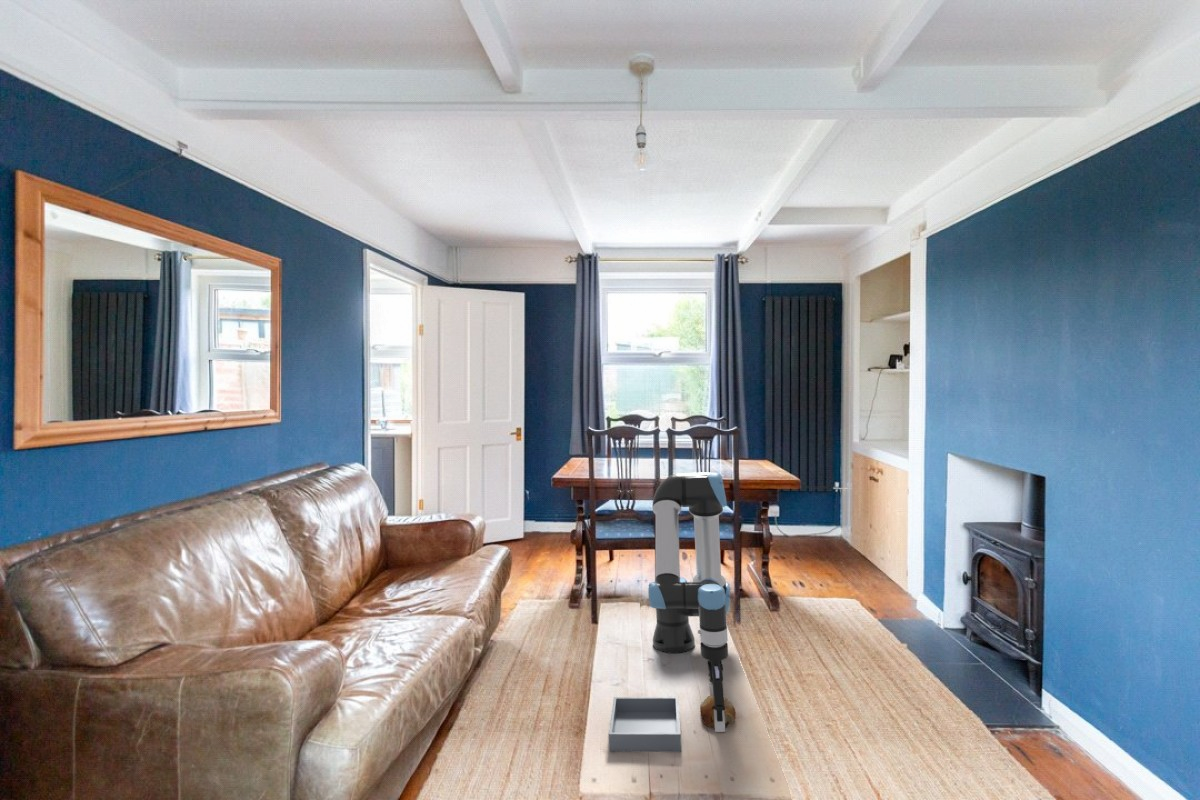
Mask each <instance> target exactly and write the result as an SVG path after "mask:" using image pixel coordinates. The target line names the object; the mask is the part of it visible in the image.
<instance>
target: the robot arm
mask: <svg viewBox="0 0 1200 800" xmlns="http://www.w3.org/2000/svg"><path fill="white" fill-rule="evenodd" d="M725 491H726V490H725V486H724V481H723V476H722V474H721V473H720V472H710V471H706V472H688V473H687V472H686V473H685V472H683V473H681V472H680V473H679V472H678V473H674V474H671V475H668V477H666V478H664V480H663V481H662V482H661V483H660V484H659V486H658V487H657V489H656V490H655V493H654V496H653V499H652V512H653V514H654V515H655V565H654V566H655V570H654V571H655V581H653V582H649V584H648V593H647V594H648V604H649V606H650V608H653V609H655V611H656V612H655V613H656V614H655V615H656V625H655V629H654V633H653V636H652V646H653V645H654V646H653V647H654V649H656V648H657V649H656V650H658V649H659V650H658V651H660V650H662V651H661V652H663V651H665V652H664V653H668V652H671V653H670V654H678V653H677V652H680V653H684V652H688V651H690V650H692V649H693V648H694V647H695V645H696V644H695V643H696V642H695V636H694V633H693V630H692V628H691V625H690V620H689V617H699V630H697V634H700V635H699V638H700V639H699V640H700V644H699V645H700V654H701V657H702V658H703V659H705V660H706V661H707V663H706V664H707V668H708V677H709V679H708V681H709V696H712V695H713V696H714V706H712V709H714V723H715V728H714V732H715V733H725V732H726V727H725V716H724V710H725V706H724V697H725V696H724V685H723V684H724V683H723V681H724V676H723V675H724V674H723V671H724V666H723V663H722V662H723V660H725V659H727V658H728V656H729V647H728V645H729V644H728V640H729V639H728V626H727V615H728V614H729V611H730V606H731V605H730V603H731V586H730V583H729V582H727V581H726V578H725V577H724V576H723V575H722V568H721V567H722V566H721V565H722V564H721V562H722V561H721V543H720V542H721V541H720V537H721V536H720V520H719V519H720V515H721V514H722V513H723V512H724V508H725V507H727V506H728V503H727V502H728V501H727V496H726V492H725ZM682 508H688V512H689V513H690V514H691V515H692V516H693V527H694V528H693V529H694V531H693V532H694V546H695V548H694V549H695V550H694V551H695V569H696V575H694V576H693V578H692V581H687V579H686V578H684V577H681V564H680V562H681V561H680V530H679V529H680V528H679V514H680V513H681V511H682Z"/></svg>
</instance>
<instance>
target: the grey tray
mask: <svg viewBox="0 0 1200 800" xmlns="http://www.w3.org/2000/svg"><path fill="white" fill-rule="evenodd" d="M679 705H680V703H679V696H614V697H613V701H612V707H611V708H612V709H611V714H610V721H609V729H608V750H609V752H656V753H657V752H661V753H664V752H665V753H666V752H667V753H668V752H670V753H671V752H673V753H675V752H676V753H680V752H681V753H682V738H681V724H680V719H681V718H680V706H679Z"/></svg>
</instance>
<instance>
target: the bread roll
mask: <svg viewBox="0 0 1200 800" xmlns="http://www.w3.org/2000/svg"><path fill="white" fill-rule="evenodd" d="M712 706H714V696H713V695H712V696H710V695H708V696H706V698H705V699H703V701H702V702H701V703H700V706H699V710H700V711H699V712H700V719H701V722H702V723H703V724H704V725H706V726H707V727H709V728H712V729H715V723H714V709H712ZM724 706H725V710H724V716H725V728H727V727H729V725H730V726H731V725H732V724H733V723H734V722H735V720H736V718H737V714H736V708H735V705H734V704H733V702H732V701H730V700H729V698H726V697H725V696H724Z"/></svg>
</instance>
